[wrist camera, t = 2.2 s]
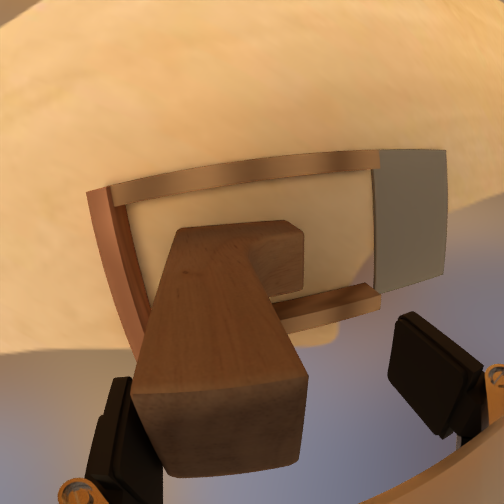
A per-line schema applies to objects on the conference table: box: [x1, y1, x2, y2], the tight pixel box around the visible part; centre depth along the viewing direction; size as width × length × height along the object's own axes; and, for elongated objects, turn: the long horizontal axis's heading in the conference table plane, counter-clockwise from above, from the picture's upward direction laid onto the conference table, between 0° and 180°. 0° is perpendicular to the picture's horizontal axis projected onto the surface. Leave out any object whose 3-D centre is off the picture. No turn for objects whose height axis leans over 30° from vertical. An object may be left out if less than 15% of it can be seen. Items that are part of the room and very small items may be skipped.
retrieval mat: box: [371, 149, 448, 294], centre depth 26 cm, size 10×14×1 cm
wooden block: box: [130, 220, 309, 478], centre depth 16 cm, size 9×4×18 cm, turn 93°
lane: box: [86, 150, 381, 362], centre depth 22 cm, size 22×14×4 cm, turn 98°
